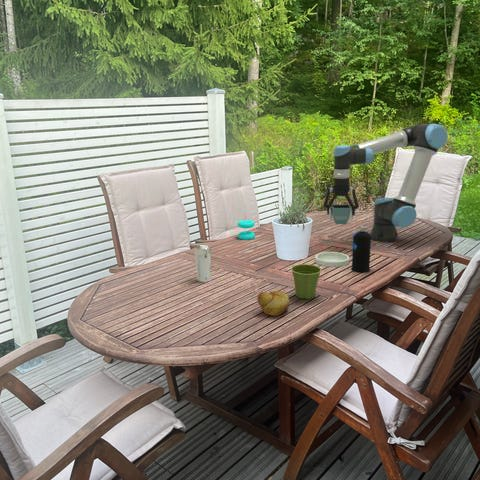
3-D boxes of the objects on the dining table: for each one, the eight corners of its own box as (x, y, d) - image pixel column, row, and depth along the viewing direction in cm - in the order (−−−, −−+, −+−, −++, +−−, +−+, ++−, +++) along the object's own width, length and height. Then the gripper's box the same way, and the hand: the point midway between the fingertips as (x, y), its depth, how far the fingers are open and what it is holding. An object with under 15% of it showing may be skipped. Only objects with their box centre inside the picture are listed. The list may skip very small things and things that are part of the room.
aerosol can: (371, 267, 202) (373, 225, 196) (368, 273, 195) (370, 229, 189) (353, 265, 205) (355, 224, 200) (349, 271, 198) (351, 228, 193)
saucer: (340, 255, 221) (341, 250, 220) (354, 265, 206) (354, 260, 205) (310, 257, 218) (310, 253, 218) (322, 268, 203) (322, 263, 203)
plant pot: (313, 304, 165) (314, 276, 162) (285, 298, 171) (285, 271, 168) (325, 293, 174) (326, 266, 171) (298, 288, 180) (298, 262, 177)
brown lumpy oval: (276, 301, 168) (276, 282, 166) (297, 308, 162) (297, 288, 160) (254, 313, 159) (254, 292, 157) (276, 320, 153) (276, 299, 151)
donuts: (258, 221, 254) (245, 224, 247) (258, 237, 256) (246, 241, 250) (246, 218, 261) (233, 221, 254) (246, 234, 263) (234, 238, 257)
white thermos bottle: (214, 277, 195) (212, 245, 191) (208, 283, 188) (206, 249, 184) (200, 276, 197) (198, 244, 193) (193, 281, 191) (191, 248, 187)
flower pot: (348, 221, 228) (348, 204, 225) (350, 225, 220) (351, 207, 217) (331, 221, 229) (331, 204, 226) (332, 225, 220) (333, 208, 218)
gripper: (317, 178, 219) (317, 221, 225) (363, 178, 210) (362, 224, 216) (320, 176, 225) (320, 218, 232) (366, 176, 217) (364, 220, 223)
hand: (340, 221), depth 224 cm, fingers closed on flower pot, 10 cm apart
